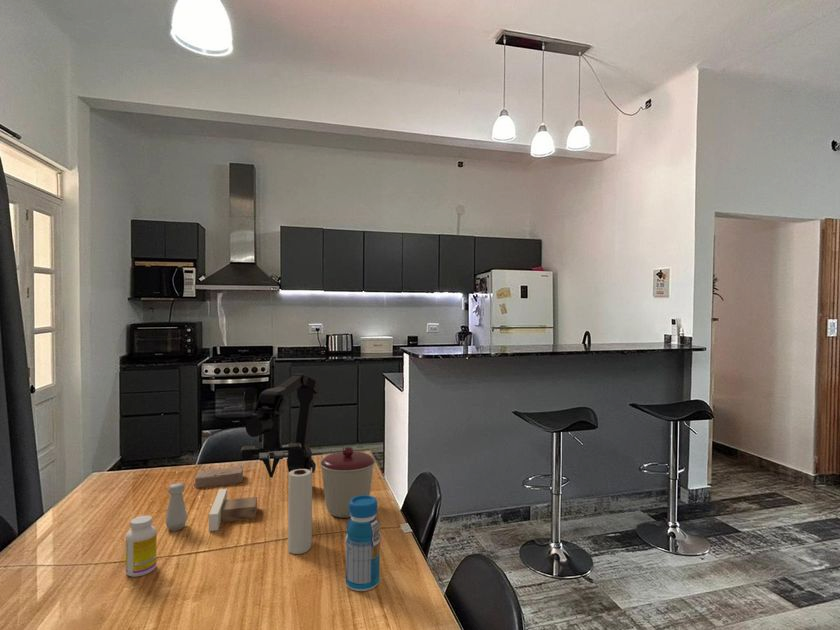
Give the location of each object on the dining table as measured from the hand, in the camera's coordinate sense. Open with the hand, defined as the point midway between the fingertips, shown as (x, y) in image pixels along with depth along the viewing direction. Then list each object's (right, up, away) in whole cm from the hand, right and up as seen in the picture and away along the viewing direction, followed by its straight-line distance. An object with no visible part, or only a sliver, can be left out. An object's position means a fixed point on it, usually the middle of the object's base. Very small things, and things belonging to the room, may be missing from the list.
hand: (271, 477), depth 151 cm
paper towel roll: (+16, -12, -23) cm, 31 cm away
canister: (+25, -12, +1) cm, 27 cm away
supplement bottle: (-22, -12, -35) cm, 42 cm away
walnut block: (-9, -12, -2) cm, 15 cm away
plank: (-15, -11, -4) cm, 20 cm away
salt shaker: (-25, -11, -12) cm, 30 cm away
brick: (-28, -11, +26) cm, 40 cm away
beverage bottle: (+35, -12, -39) cm, 53 cm away
